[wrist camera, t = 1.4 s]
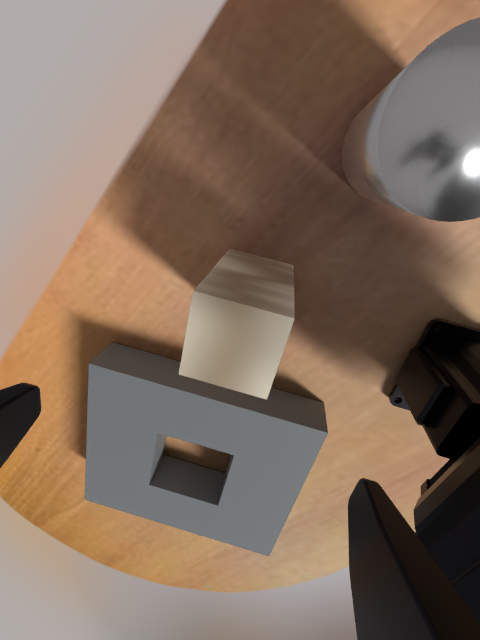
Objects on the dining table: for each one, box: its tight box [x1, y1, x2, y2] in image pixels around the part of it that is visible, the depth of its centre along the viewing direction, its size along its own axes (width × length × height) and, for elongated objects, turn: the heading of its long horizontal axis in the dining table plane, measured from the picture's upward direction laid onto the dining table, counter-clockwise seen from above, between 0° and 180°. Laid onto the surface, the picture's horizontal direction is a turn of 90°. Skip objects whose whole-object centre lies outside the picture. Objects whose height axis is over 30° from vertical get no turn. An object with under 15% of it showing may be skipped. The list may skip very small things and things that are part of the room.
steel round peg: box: [341, 18, 480, 222], centre depth 13 cm, size 5×5×8 cm
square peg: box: [179, 248, 295, 400], centre depth 17 cm, size 4×4×8 cm
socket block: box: [85, 342, 328, 556], centre depth 25 cm, size 16×14×3 cm
